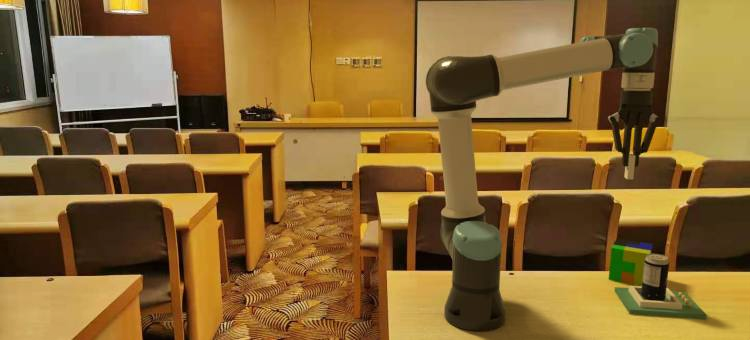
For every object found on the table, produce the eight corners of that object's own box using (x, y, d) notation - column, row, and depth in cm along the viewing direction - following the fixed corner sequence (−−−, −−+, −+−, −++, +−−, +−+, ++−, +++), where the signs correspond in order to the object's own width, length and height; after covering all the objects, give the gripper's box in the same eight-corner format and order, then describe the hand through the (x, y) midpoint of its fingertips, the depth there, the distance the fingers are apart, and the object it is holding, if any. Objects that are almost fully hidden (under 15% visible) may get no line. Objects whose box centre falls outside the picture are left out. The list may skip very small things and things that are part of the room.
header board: (629, 313, 136) (630, 303, 136) (614, 291, 150) (615, 282, 149) (706, 319, 133) (707, 309, 133) (683, 295, 147) (684, 286, 146)
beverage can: (667, 305, 138) (672, 261, 136) (644, 303, 139) (648, 259, 137) (660, 296, 144) (665, 253, 141) (638, 294, 145) (642, 252, 142)
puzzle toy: (649, 275, 161) (653, 244, 159) (646, 287, 153) (649, 254, 151) (614, 269, 166) (616, 238, 164) (608, 280, 158) (611, 247, 156)
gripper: (614, 90, 136) (606, 180, 141) (669, 90, 134) (659, 182, 139) (606, 88, 143) (599, 174, 148) (658, 88, 141) (650, 176, 146)
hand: (628, 178), depth 143 cm, fingers closed
